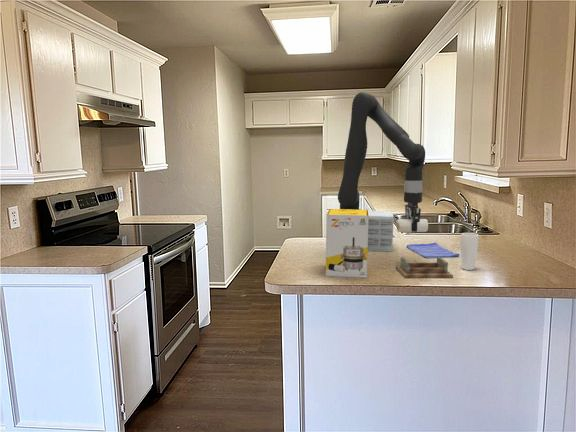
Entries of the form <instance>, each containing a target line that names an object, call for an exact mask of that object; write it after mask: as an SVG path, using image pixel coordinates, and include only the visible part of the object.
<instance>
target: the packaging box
mask: <svg viewBox="0 0 576 432" xmlns="http://www.w3.org/2000/svg"><path fill="white" fill-rule="evenodd" d="M368 211H369V210H368V209H359V210H351V209H340V208H338V209H337V208H331V209H328V211H327V213H326V216H325V217H326V220H325V221H326V224H325V226H326V227H325V229H326V230H325V231H326V233H325V234H326V235H325V277H338V278H339V277H340V278H344V277H345V278H356V279H357V278H361V279H367V278H368V252H369V251H368V218H369V215H368Z"/></svg>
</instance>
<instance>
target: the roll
mask: <svg viewBox="0 0 576 432" xmlns="http://www.w3.org/2000/svg"><path fill="white" fill-rule="evenodd" d="M411 227H412V220H411V219H407V218H405V219H403V218H402V219H397V220H396V231H397V233H414V232H413V231H411ZM428 230H429V222H428V219H427V218H420V222H418V223H417V231H416V232H415V233H418V232H419V233H421V232H422V233H424V232H425V233H426V232H428Z"/></svg>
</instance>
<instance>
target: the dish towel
mask: <svg viewBox="0 0 576 432" xmlns="http://www.w3.org/2000/svg"><path fill="white" fill-rule="evenodd" d="M406 249H408V250H410V251H412V252H413V253H415V254H418V255H419V256H421V257H422V258H426V259H429V260H430V259H437V257H441V258H442V259H452V258H460V256H461V255H460V254H461V253H458V252H453V251H452V250H449V249H448V248H445V247H443V246H441V245H440V244H438V243H437V242H431V243H418V244H417V243H412V244H407V245H406Z"/></svg>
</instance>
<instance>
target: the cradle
mask: <svg viewBox="0 0 576 432" xmlns="http://www.w3.org/2000/svg"><path fill="white" fill-rule="evenodd" d="M448 267H449V262H448V261H446V260H445V258H441V257H437V258H436V262H410V261H409V260H408V259H407V258H406V257H404V256H401V257H400V265H395V269H396V271H397V272H399V274H400V275H401V276H402V277H403V278H404V279H453V278H454V274H452V273H451V272H450V271H448Z"/></svg>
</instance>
